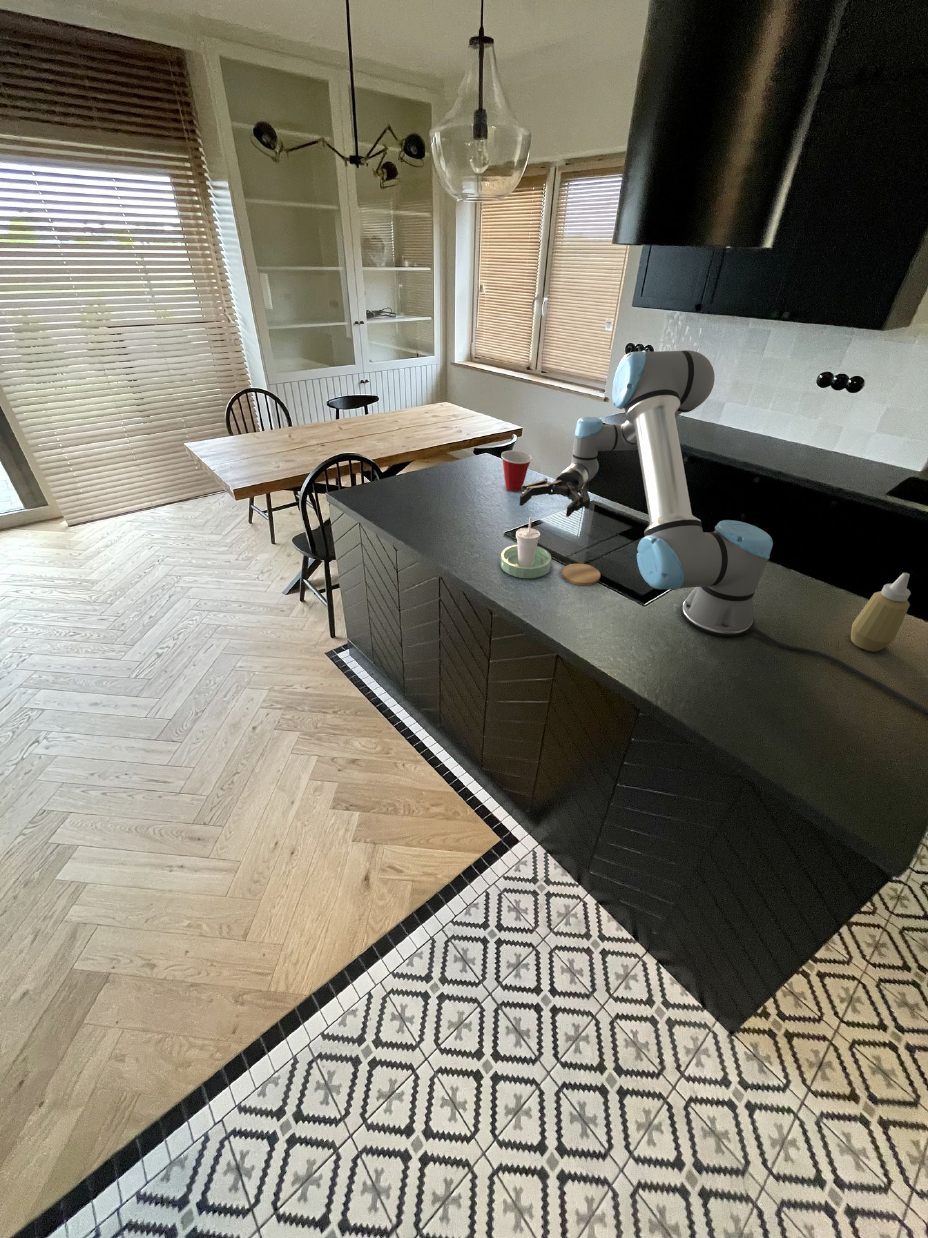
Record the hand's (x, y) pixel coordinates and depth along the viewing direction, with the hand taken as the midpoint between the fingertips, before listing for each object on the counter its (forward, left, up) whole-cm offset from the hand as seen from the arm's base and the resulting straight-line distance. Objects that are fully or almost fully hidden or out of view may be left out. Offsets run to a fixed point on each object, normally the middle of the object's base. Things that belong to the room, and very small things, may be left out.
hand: (543, 506), depth 143 cm
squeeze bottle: (-73, -31, -14) cm, 81 cm away
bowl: (-4, +9, -14) cm, 17 cm away
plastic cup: (+40, -24, -14) cm, 49 cm away
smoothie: (-4, +9, -14) cm, 17 cm away
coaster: (-16, 0, -14) cm, 21 cm away
